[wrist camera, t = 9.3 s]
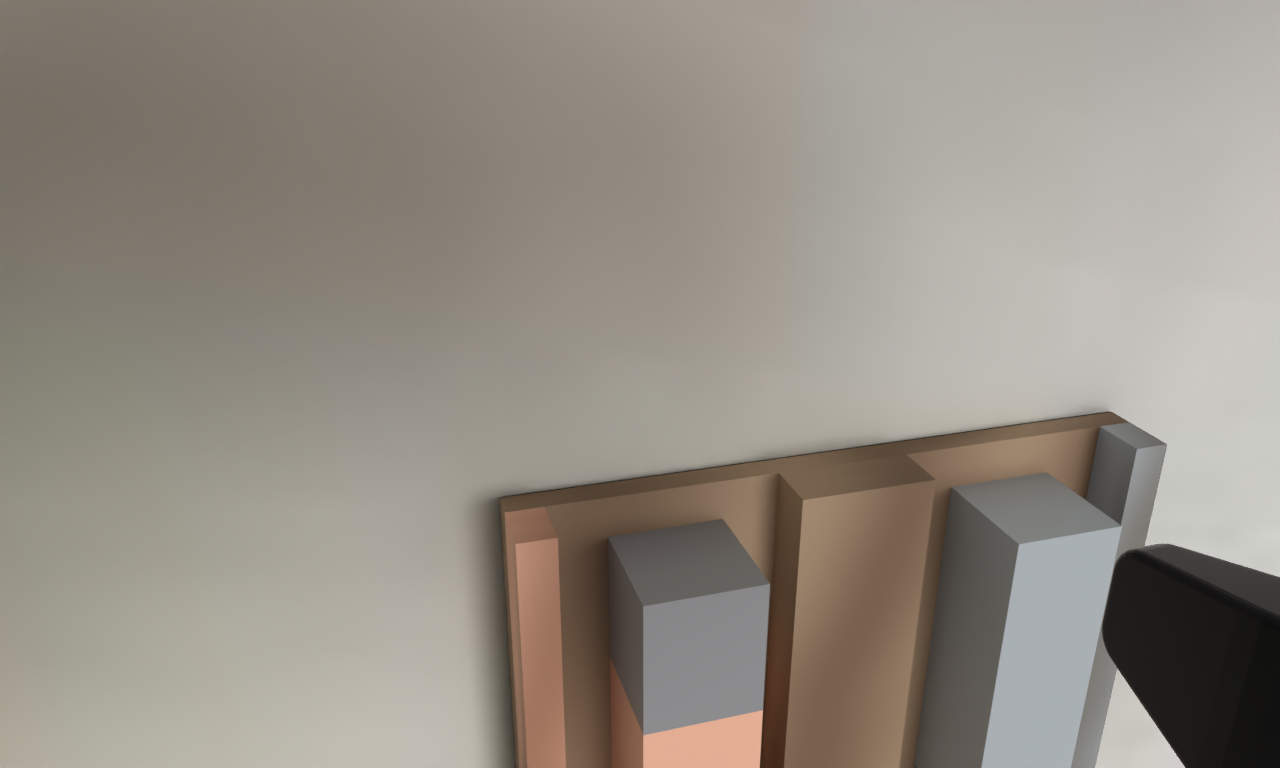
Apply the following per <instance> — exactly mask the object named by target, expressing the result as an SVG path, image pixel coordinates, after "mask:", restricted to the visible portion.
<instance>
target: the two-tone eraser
mask: <svg viewBox="0 0 1280 768" xmlns="http://www.w3.org/2000/svg"><path fill="white" fill-rule="evenodd" d="M608 554H609V617H610V680H611V743H612V768H760V753H761V735H762V718H763V700H764V683H765V665H766V647H767V630H768V612H769V595H770V583H769V582H768V580H767V579H766V578H765V576H764V575H763V573H762V572H761V571H760V569H759V568H758V567H757V565H756V564H755V562H754V561H753V560H752V558H751V557H750V555H749V554H748V553H747V551H746V550H745V548H744V547H743V546H742V544H741V543H740V542H739V540H738V539H737V537H736V536H735V535H734V533H733V532H732V530H731V529H730V528H729V526H728V525H727V523H726V522H725V521H724V519H719V520H713V521H707V522H700V523H694V524H687V525H681V526H675V527H668V528H662V529H656V530H649V531H643V532H637V533H630V534H624V535H617V536H611V537H608Z"/></svg>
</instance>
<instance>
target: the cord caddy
mask: <svg viewBox="0 0 1280 768" xmlns="http://www.w3.org/2000/svg"><path fill="white" fill-rule="evenodd" d="M1166 447H1167V444H1165V443H1164V442H1162V441H1160V440H1159V439H1157V438H1155V437H1154V436H1152V435H1150V434H1148V433H1147V432H1145V431H1143V430H1142V429H1140V428H1138V427H1136V426H1135V425H1133V424H1131V423H1130V422H1128V421H1126V420H1125V419H1123V418H1121V417H1119V416H1118V415H1116V414H1114V413H1113V412H1107V413H1100V414H1093V415H1086V416H1079V417H1072V418H1065V419H1058V420H1050V421H1043V422H1036V423H1029V424H1022V425H1015V426H1008V427H1001V428H994V429H986V430H979V431H972V432H965V433H958V434H951V435H944V436H937V437H930V438H922V439H915V440H908V441H901V442H894V443H887V444H880V445H873V446H866V447H859V448H851V449H844V450H837V451H830V452H823V453H816V454H809V455H802V456H795V457H787V458H780V459H773V460H766V461H759V462H752V463H745V464H738V465H731V466H723V467H716V468H709V469H702V470H695V471H688V472H681V473H674V474H667V475H659V476H652V477H645V478H638V479H631V480H624V481H617V482H610V483H603V484H595V485H588V486H581V487H574V488H567V489H560V490H553V491H546V492H539V493H531V494H524V495H517V496H510V497H503V498H499V499H500V515H501V532H502V549H503V565H504V582H505V599H506V615H507V632H508V649H509V665H510V682H511V699H512V715H513V732H514V749H515V765H516V768H612V743H611V680H610V617H609V554H608V537H611V536H617V535H624V534H630V533H637V532H643V531H649V530H656V529H662V528H668V527H675V526H681V525H687V524H694V523H700V522H707V521H713V520H719V519H724V521H725V522H726V523H727V525H728V526H729V528H730V529H731V530H732V532H733V533H734V535H735V536H736V537H737V539H738V540H739V542H740V543H741V544H742V546H743V547H744V548H745V550H746V551H747V553H748V554H749V555H750V557H751V558H752V560H753V561H754V562H755V564H756V565H757V567H758V568H759V569H760V571H761V572H762V573H763V575H764V576H765V578H766V579H767V580H768V582H769V583H770V595H769V612H768V630H767V647H766V665H765V683H764V700H763V718H762V735H761V753H760V768H914V761H915V753H916V746H917V739H918V731H919V724H920V716H921V709H922V702H923V694H924V687H925V680H926V672H927V665H928V657H929V650H930V643H931V635H932V628H933V620H934V613H935V606H936V598H937V591H938V583H939V576H940V569H941V561H942V554H943V546H944V539H945V532H946V524H947V517H948V510H949V502H950V495H951V487H955V486H962V485H968V484H975V483H981V482H987V481H994V480H1000V479H1007V478H1013V477H1020V476H1026V475H1032V474H1039V473H1045V472H1047V473H1049V474H1050V475H1051V476H1053V477H1054V478H1056V479H1057V480H1058V481H1060V482H1061V483H1063V484H1064V485H1065V486H1067V487H1068V488H1070V489H1071V490H1072V491H1074V492H1075V493H1077V494H1078V495H1079V496H1081V497H1082V498H1083V499H1085V500H1086V501H1088V502H1089V503H1090V504H1092V505H1093V506H1095V507H1096V508H1097V509H1099V510H1100V511H1102V512H1103V513H1104V514H1106V515H1107V516H1109V517H1110V518H1111V519H1113V520H1114V521H1115V522H1117V523H1118V524H1120V525H1121V526H1122V529H1121V534H1120V539H1119V543H1118V548H1117V553H1116V557H1115V562H1114V566H1115V563H1116V561H1117V560H1118V558H1119V557H1120V555H1121V554H1122V553H1124V552H1125V551H1127V550H1130V549H1134V548H1139V547H1144V545H1145V541H1146V537H1147V532H1148V528H1149V523H1150V519H1151V514H1152V510H1153V505H1154V501H1155V496H1156V492H1157V487H1158V483H1159V479H1160V474H1161V470H1162V465H1163V461H1164V456H1165V452H1166ZM1113 571H1114V567H1113ZM1112 575H1113V572H1112ZM1111 580H1112V576H1111ZM1110 585H1111V581H1110ZM1109 589H1110V586H1109ZM1108 594H1109V590H1108ZM1107 599H1108V595H1107ZM1106 604H1107V600H1106ZM1105 608H1106V605H1105ZM1104 613H1105V609H1104ZM1103 618H1104V614H1103ZM1102 623H1103V619H1102ZM1102 623H1101V628H1100V633H1099V637H1098V642H1097V647H1096V652H1095V656H1094V661H1093V666H1092V670H1091V675H1090V680H1089V685H1088V689H1087V694H1086V699H1085V703H1084V708H1083V713H1082V717H1081V722H1080V727H1079V732H1078V736H1077V741H1076V746H1075V750H1074V755H1073V760H1072V765H1071V768H1095V764H1096V760H1097V755H1098V751H1099V746H1100V742H1101V737H1102V733H1103V728H1104V724H1105V719H1106V715H1107V710H1108V706H1109V702H1110V697H1111V693H1112V688H1113V684H1114V679H1115V675H1116V670H1117V667H1116V665H1115V664H1114V662H1113V661H1112V659H1111V658H1110V656H1109V655H1108V653H1107V650H1106V648H1105V646H1104V642H1103V638H1102Z"/></svg>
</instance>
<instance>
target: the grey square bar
mask: <svg viewBox="0 0 1280 768" xmlns="http://www.w3.org/2000/svg"><path fill="white" fill-rule="evenodd" d="M1121 529H1122V526H1121V525H1120V524H1118V523H1117V522H1115V521H1114V520H1113V519H1111V518H1110V517H1109V516H1107V515H1106V514H1104V513H1103V512H1102V511H1100V510H1099V509H1097V508H1096V507H1095V506H1093V505H1092V504H1090V503H1089V502H1088V501H1086V500H1085V499H1083V498H1082V497H1081V496H1079V495H1078V494H1077V493H1075V492H1074V491H1072V490H1071V489H1070V488H1068V487H1067V486H1065V485H1064V484H1063V483H1061V482H1060V481H1058V480H1057V479H1056V478H1054V477H1053V476H1051V475H1050V474H1049V473H1047V472H1045V473H1039V474H1032V475H1026V476H1020V477H1013V478H1007V479H1000V480H994V481H987V482H981V483H975V484H968V485H962V486H955V487H951V495H950V502H949V510H948V517H947V524H946V532H945V539H944V546H943V554H942V561H941V569H940V576H939V583H938V591H937V598H936V606H935V613H934V620H933V628H932V635H931V643H930V650H929V657H928V665H927V672H926V680H925V687H924V694H923V702H922V709H921V716H920V724H919V731H918V739H917V746H916V753H915V761H914V768H1071V765H1072V760H1073V755H1074V750H1075V746H1076V741H1077V736H1078V732H1079V727H1080V722H1081V717H1082V713H1083V708H1084V703H1085V699H1086V694H1087V689H1088V685H1089V680H1090V675H1091V670H1092V666H1093V661H1094V656H1095V652H1096V647H1097V642H1098V637H1099V633H1100V628H1101V623H1102V619H1103V614H1104V609H1105V605H1106V600H1107V595H1108V590H1109V586H1110V581H1111V576H1112V572H1113V567H1114V562H1115V557H1116V553H1117V548H1118V543H1119V539H1120V534H1121Z"/></svg>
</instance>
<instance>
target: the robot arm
mask: <svg viewBox="0 0 1280 768" xmlns="http://www.w3.org/2000/svg"><path fill="white" fill-rule="evenodd" d="M1102 638H1103V642H1104V646H1105V648H1106V650H1107V653H1108V655H1109V656H1110V658H1111V659H1112V661H1113V662H1114V664H1115V665H1116V667H1117V668H1118V670H1119V671H1120V673H1121V674H1122V676H1123V677H1124V678H1125V680H1126V681H1127V683H1128V684H1129V686H1130V687H1131V689H1132V690H1133V692H1134V693H1135V695H1136V696H1137V698H1138V699H1139V700H1140V702H1141V703H1142V705H1143V706H1144V708H1145V709H1146V711H1147V712H1148V714H1149V715H1150V717H1151V718H1152V719H1153V721H1154V722H1155V724H1156V725H1157V727H1158V728H1159V730H1160V731H1161V733H1162V734H1163V736H1164V737H1165V738H1166V740H1167V741H1168V743H1169V744H1170V746H1171V747H1172V749H1173V750H1174V752H1175V753H1176V755H1177V756H1178V757H1179V759H1180V760H1181V762H1182V763H1183V765H1184V766H1185V768H1280V577H1277V576H1274V575H1271V574H1267V573H1264V572H1261V571H1257V570H1254V569H1251V568H1248V567H1244V566H1241V565H1238V564H1234V563H1231V562H1228V561H1225V560H1221V559H1218V558H1215V557H1211V556H1208V555H1205V554H1201V553H1198V552H1195V551H1192V550H1188V549H1185V548H1182V547H1178V546H1175V545H1171V544H1155V545H1150V546H1145V547H1139V548H1134V549H1130V550H1127V551H1125V552H1124V553H1122V554H1121V555H1120V557H1119V558H1118V560H1117V561H1116V563H1115V566H1114V571H1113V575H1112V580H1111V585H1110V589H1109V594H1108V599H1107V604H1106V608H1105V613H1104V618H1103V623H1102Z"/></svg>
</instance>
